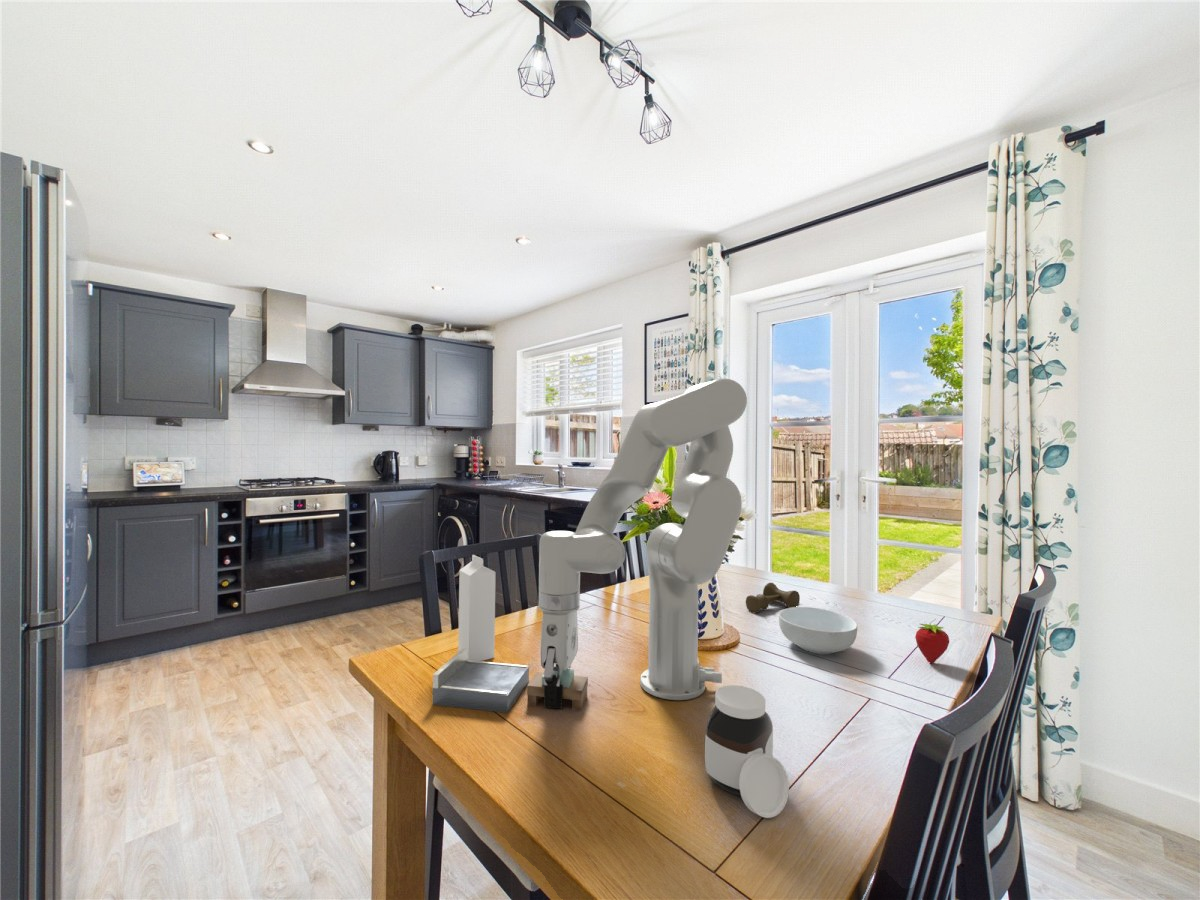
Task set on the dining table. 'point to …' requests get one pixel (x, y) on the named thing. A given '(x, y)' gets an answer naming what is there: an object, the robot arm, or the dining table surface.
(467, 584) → the milk
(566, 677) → the cargo
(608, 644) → the dining table surface
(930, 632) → the strawberry
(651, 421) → the robot arm
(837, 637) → the cereal bowl
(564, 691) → the pallet
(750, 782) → the spread jar
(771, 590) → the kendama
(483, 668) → the tray
